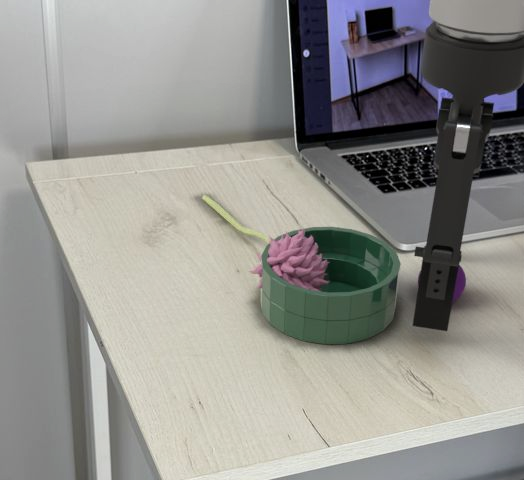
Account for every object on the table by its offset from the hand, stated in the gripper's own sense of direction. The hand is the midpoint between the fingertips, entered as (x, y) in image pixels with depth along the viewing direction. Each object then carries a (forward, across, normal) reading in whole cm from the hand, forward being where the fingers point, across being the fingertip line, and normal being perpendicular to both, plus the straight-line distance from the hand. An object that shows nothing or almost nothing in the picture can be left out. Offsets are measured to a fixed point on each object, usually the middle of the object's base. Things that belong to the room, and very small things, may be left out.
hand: (437, 283), depth 75 cm
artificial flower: (+2, -3, -17) cm, 18 cm away
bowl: (+2, +4, -9) cm, 10 cm away
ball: (0, 0, 0) cm, 0 cm away
